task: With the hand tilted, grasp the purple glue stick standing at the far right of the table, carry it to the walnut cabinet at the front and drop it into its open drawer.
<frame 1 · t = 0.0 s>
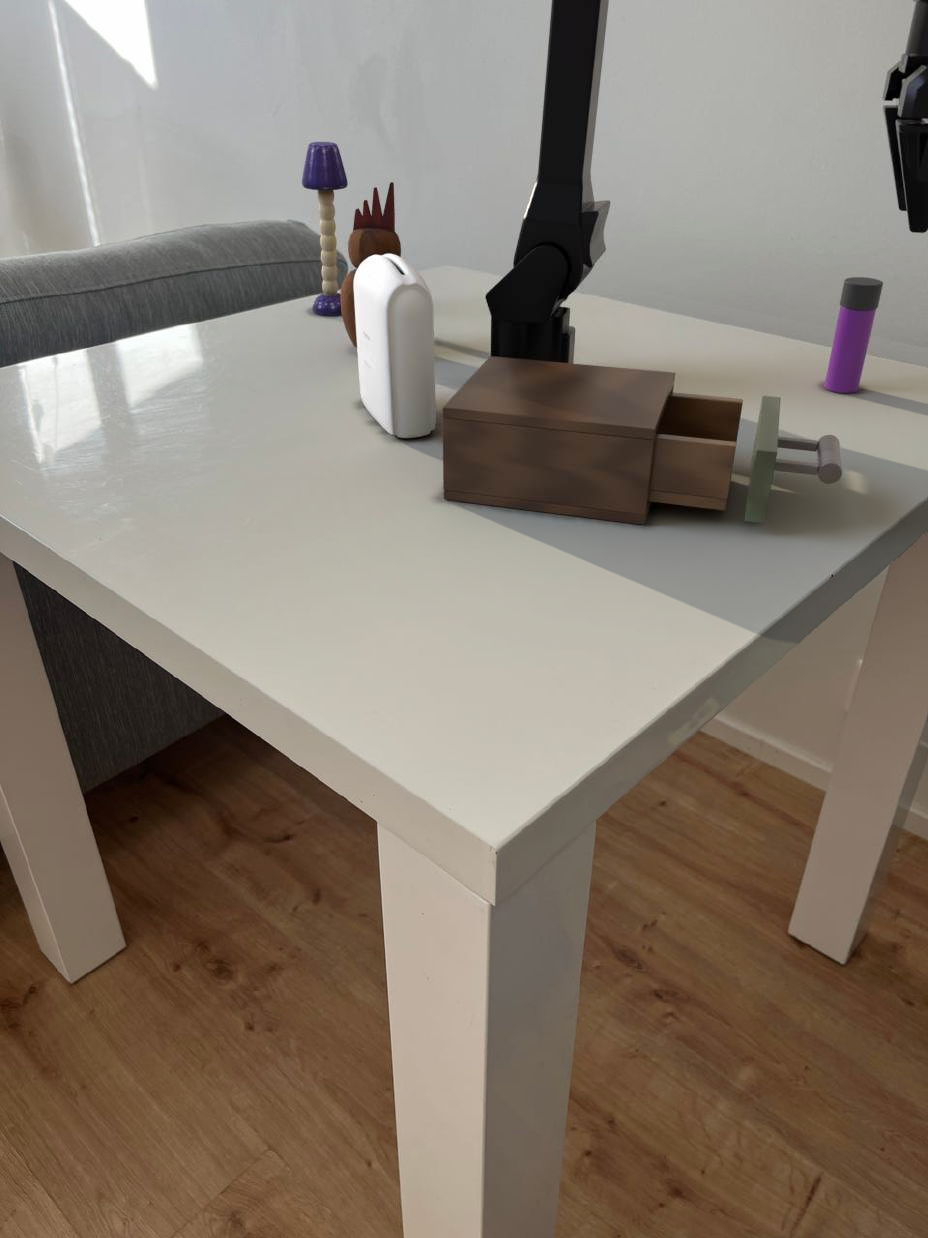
hand: (911, 220, 71), 15 cm above the table, tool pointing down, fingers open, 9 cm apart
cabinet: (559, 478, 67), on the table
glue stick: (841, 388, 84), on the table
toy lamp: (333, 313, 105), on the table
photo printer: (396, 420, 78), on the table
wooden figurine: (379, 352, 93), on the table
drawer: (707, 450, 63), point 3 cm above the table, slide at 6.0 cm
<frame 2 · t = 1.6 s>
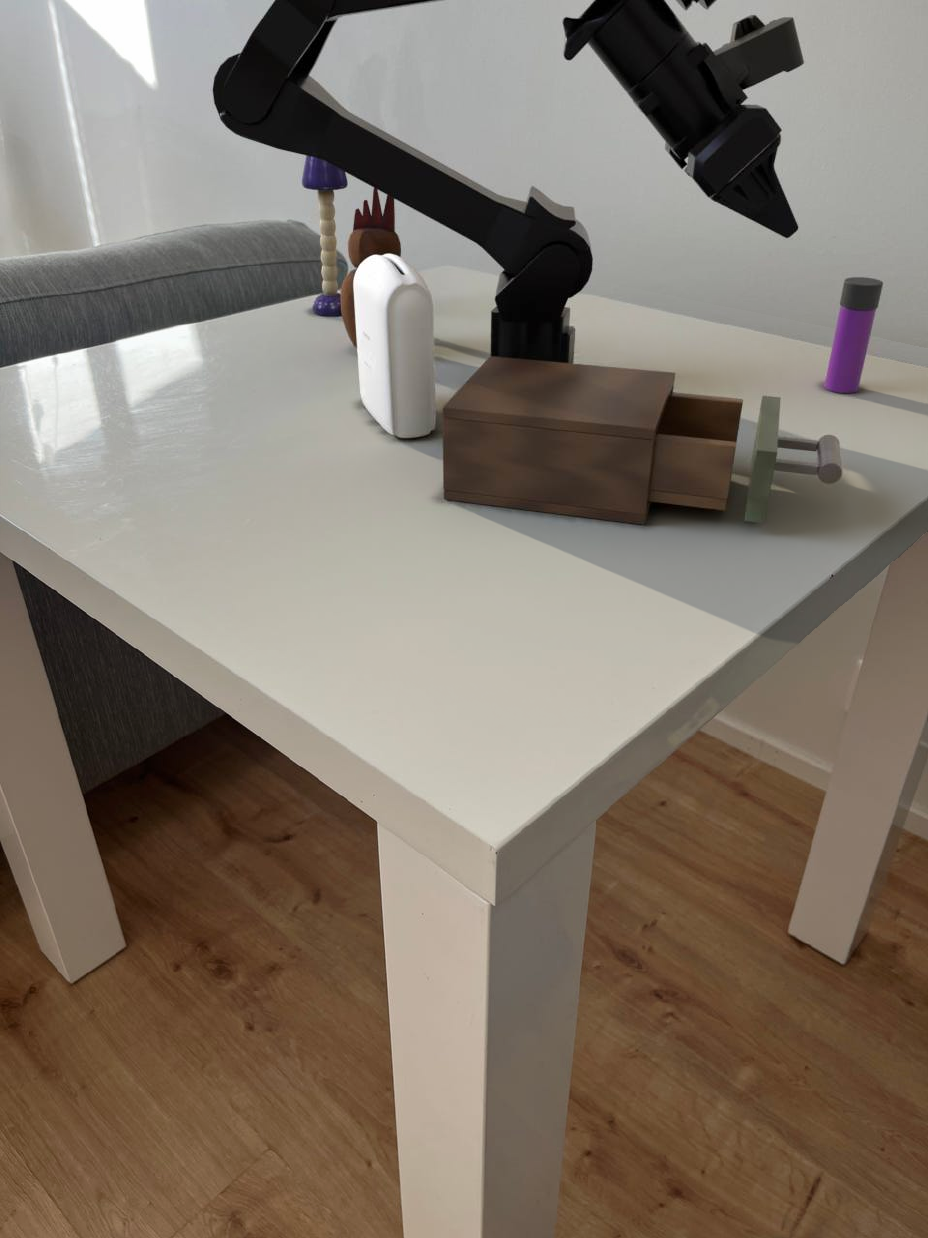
hand: (780, 222, 77), 13 cm above the table, tool tilted 45°, fingers open, 9 cm apart
nothing on the table moved.
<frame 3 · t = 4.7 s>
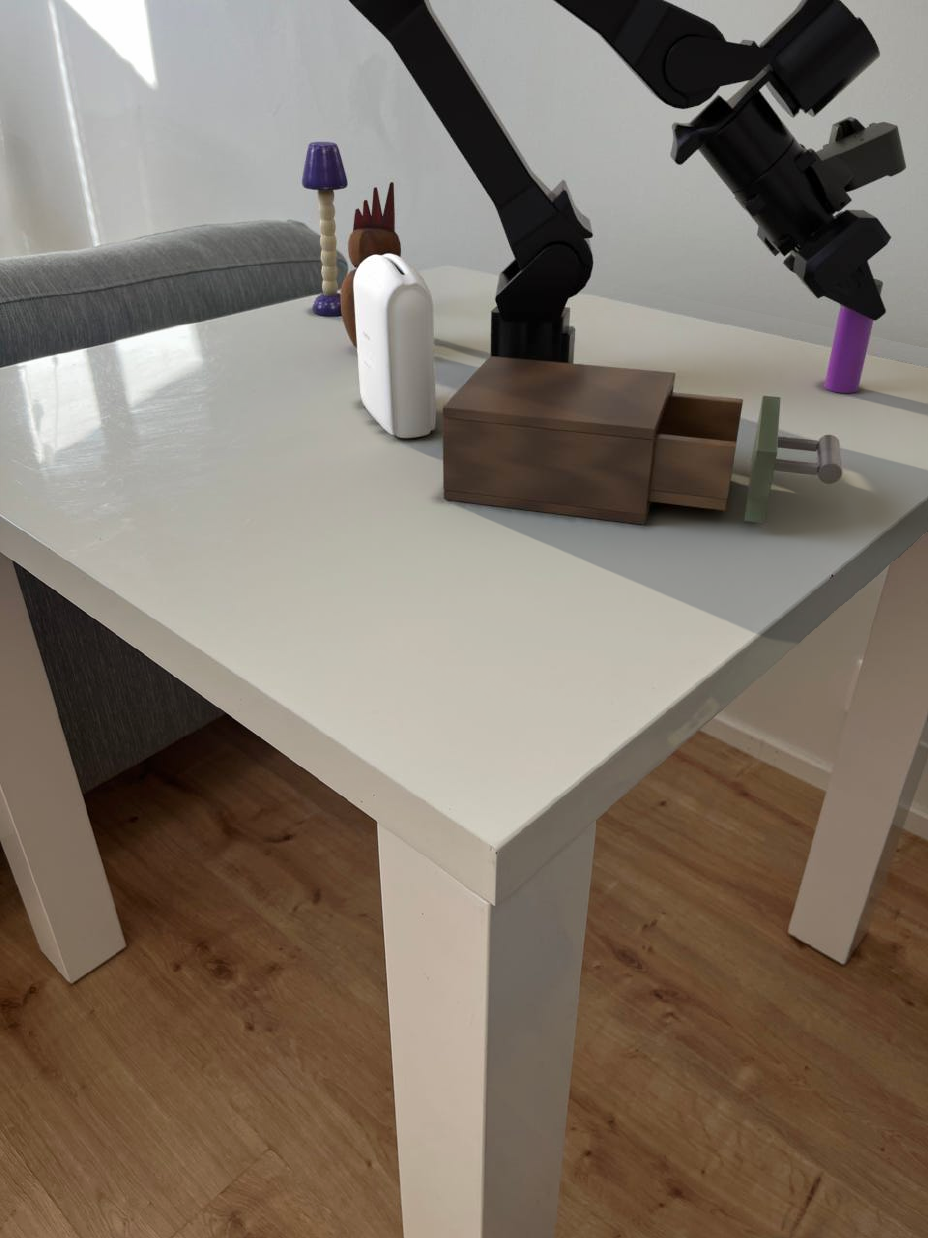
hand: (874, 311, 80), 7 cm above the table, tool tilted 45°, fingers closed on glue stick, 3 cm apart
glue stick: (841, 387, 84), on the table, touching gripper
everything else where it was.
when the fingers open (9 cm above the table, at t = 13.0 s): glue stick stays where it is, resting on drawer.
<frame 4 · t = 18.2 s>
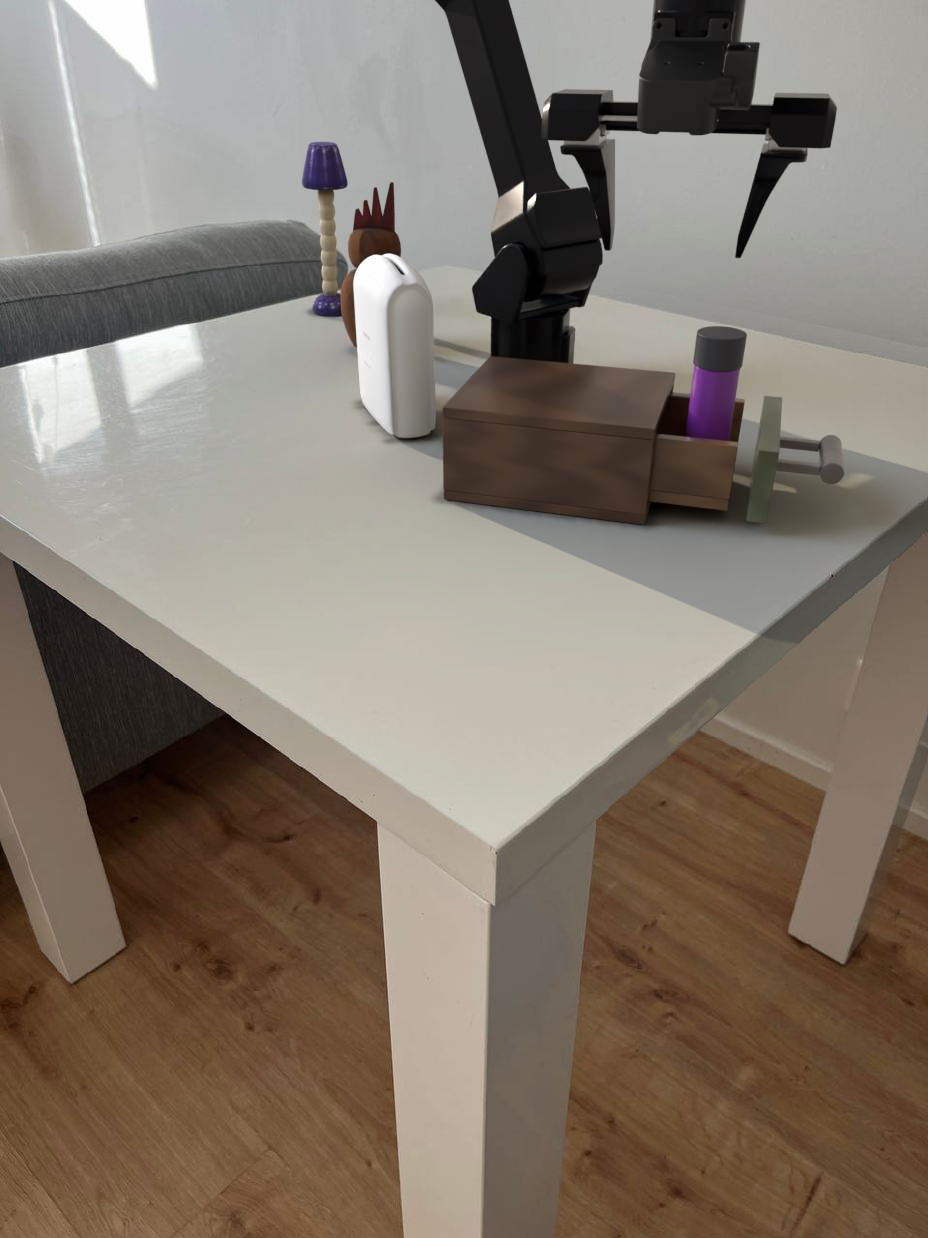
hand: (672, 253, 69), 13 cm above the table, tool pointing down, fingers open, 9 cm apart
glue stick: (702, 468, 64), point 2 cm above the table, touching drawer
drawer: (709, 450, 63), point 3 cm above the table, slide at 6.1 cm, touching glue stick
everything else where it was.
at the end: glue stick inside the target area in the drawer (1.1 cm from its centre), point 1.9 cm above the cabinet's base; the gripper is holding nothing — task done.
